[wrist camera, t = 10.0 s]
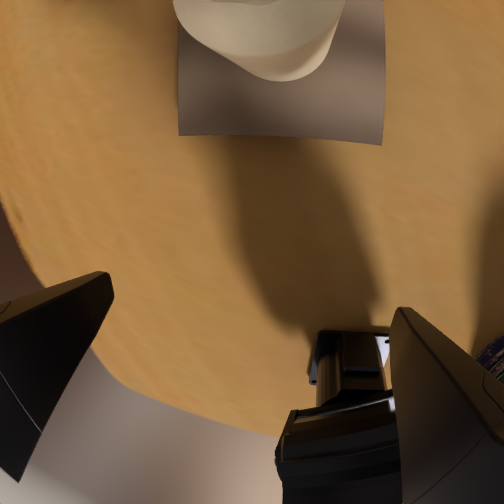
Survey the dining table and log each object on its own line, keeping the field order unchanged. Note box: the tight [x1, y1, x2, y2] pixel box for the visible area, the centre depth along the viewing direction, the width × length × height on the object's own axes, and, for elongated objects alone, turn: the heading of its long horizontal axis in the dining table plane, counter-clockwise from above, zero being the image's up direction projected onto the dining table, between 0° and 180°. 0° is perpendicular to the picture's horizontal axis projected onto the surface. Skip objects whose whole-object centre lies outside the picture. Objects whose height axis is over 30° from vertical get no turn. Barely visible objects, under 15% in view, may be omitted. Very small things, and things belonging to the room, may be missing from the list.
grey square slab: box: [178, 0, 385, 146], centre depth 15 cm, size 12×12×2 cm
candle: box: [173, 0, 346, 82], centre depth 10 cm, size 6×6×10 cm
